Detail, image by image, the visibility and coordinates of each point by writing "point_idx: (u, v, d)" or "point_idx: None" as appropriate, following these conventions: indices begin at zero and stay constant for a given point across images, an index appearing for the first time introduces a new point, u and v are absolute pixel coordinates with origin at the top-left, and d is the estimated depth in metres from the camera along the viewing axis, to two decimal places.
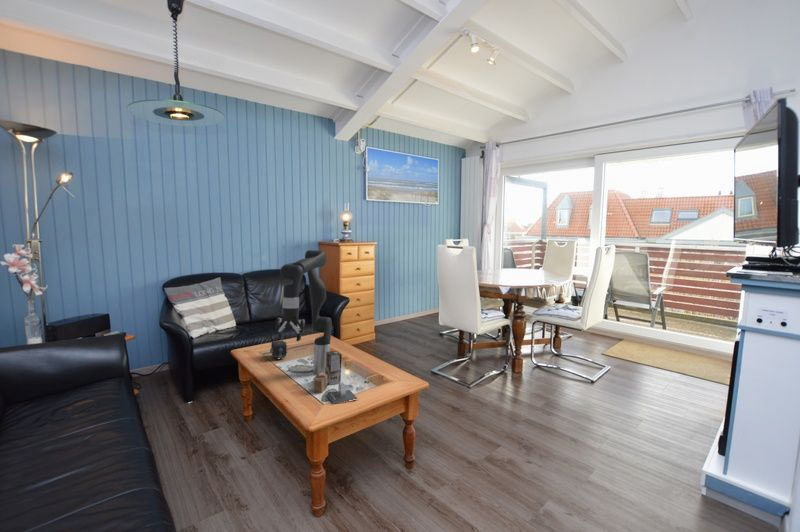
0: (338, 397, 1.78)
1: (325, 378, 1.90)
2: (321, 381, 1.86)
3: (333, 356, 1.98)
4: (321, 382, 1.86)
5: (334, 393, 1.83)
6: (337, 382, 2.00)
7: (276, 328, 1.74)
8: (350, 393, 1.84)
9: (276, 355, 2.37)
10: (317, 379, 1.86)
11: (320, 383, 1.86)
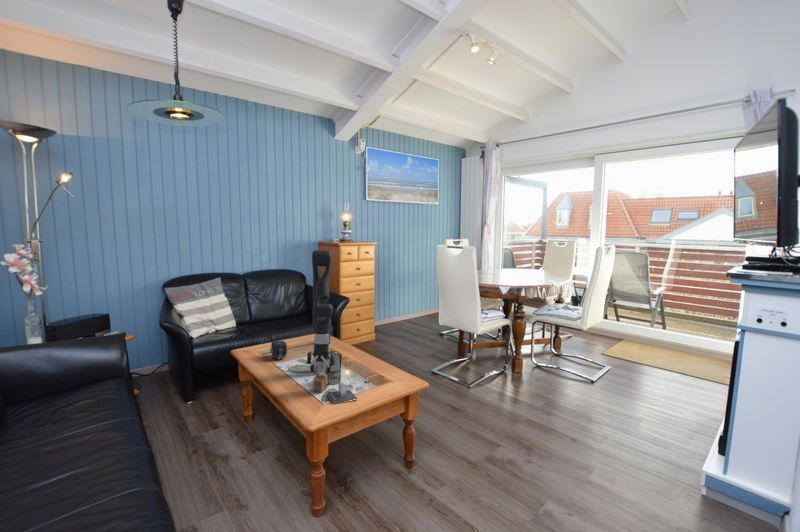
0: (338, 397, 1.78)
1: (325, 378, 1.90)
2: (321, 381, 1.86)
3: None
4: (321, 382, 1.86)
5: (334, 393, 1.83)
6: (337, 382, 2.00)
7: (308, 362, 1.89)
8: (350, 393, 1.84)
9: (276, 355, 2.37)
10: (317, 379, 1.86)
11: (320, 383, 1.86)
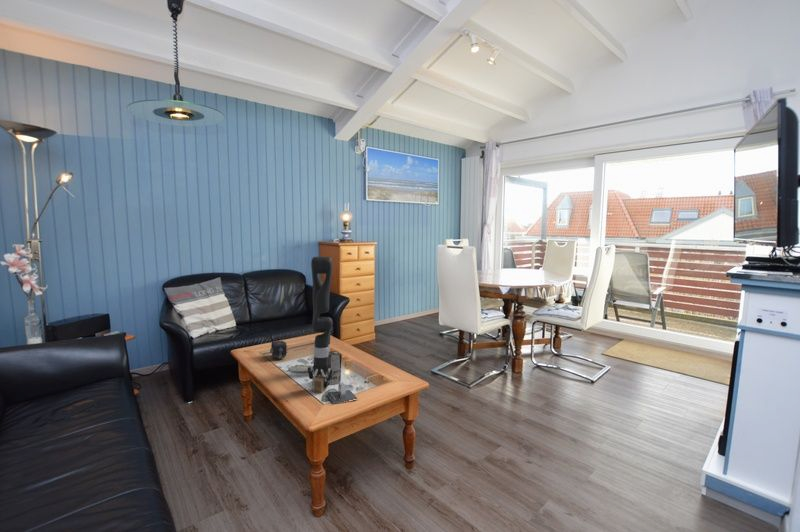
0: (338, 397, 1.78)
1: None
2: (321, 381, 1.86)
3: (333, 356, 1.98)
4: (321, 382, 1.86)
5: (334, 393, 1.83)
6: (337, 382, 2.00)
7: (310, 377, 1.89)
8: (350, 393, 1.84)
9: (276, 355, 2.37)
10: (317, 379, 1.86)
11: (320, 383, 1.86)
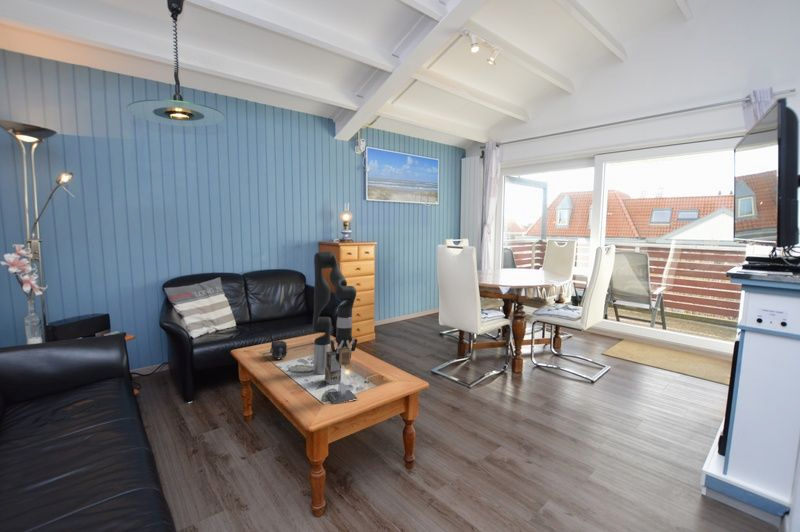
0: (338, 397, 1.78)
1: None
2: (349, 352, 1.78)
3: (333, 356, 1.98)
4: (349, 353, 1.78)
5: (334, 393, 1.83)
6: (337, 382, 2.00)
7: (334, 350, 1.77)
8: (350, 393, 1.84)
9: (276, 355, 2.37)
10: (345, 351, 1.77)
11: (348, 354, 1.78)
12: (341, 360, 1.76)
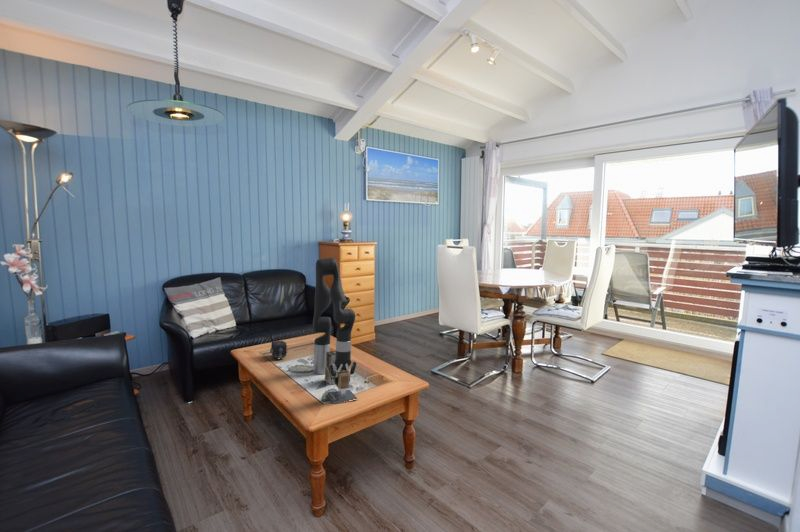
0: (338, 397, 1.78)
1: None
2: (348, 376, 1.78)
3: (333, 356, 1.98)
4: (348, 377, 1.78)
5: (334, 393, 1.83)
6: None
7: (333, 374, 1.77)
8: (350, 393, 1.84)
9: (276, 355, 2.37)
10: (344, 374, 1.77)
11: (347, 378, 1.78)
12: (340, 384, 1.76)
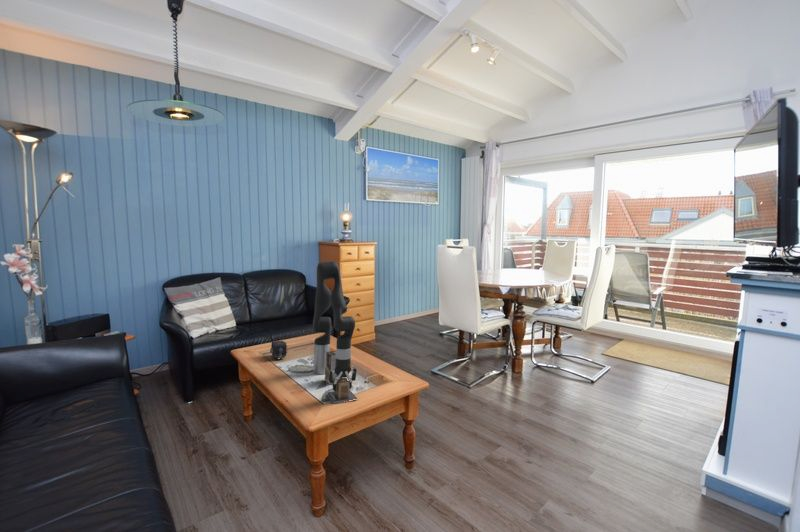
0: None
1: None
2: (348, 385, 1.78)
3: (333, 356, 1.98)
4: (348, 386, 1.78)
5: (334, 393, 1.83)
6: None
7: (331, 381, 1.77)
8: (350, 393, 1.84)
9: (276, 355, 2.37)
10: (344, 384, 1.77)
11: (347, 387, 1.78)
12: (340, 393, 1.77)
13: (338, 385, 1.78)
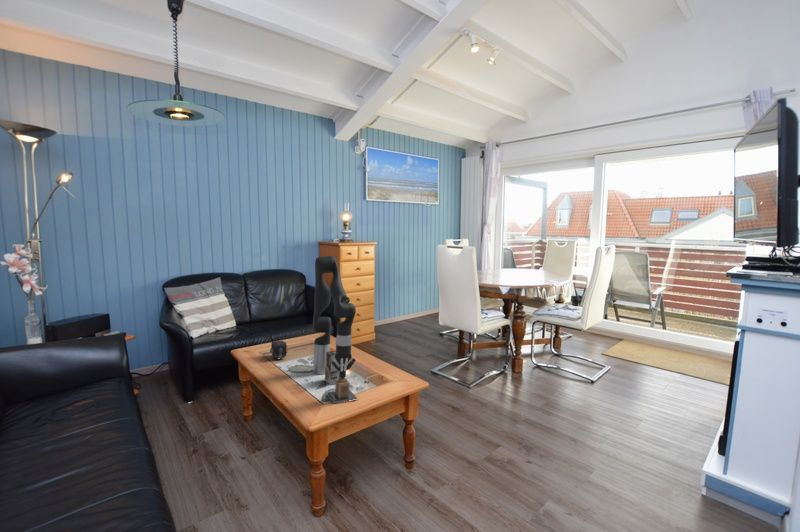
0: None
1: None
2: (348, 385, 1.78)
3: (333, 356, 1.98)
4: (348, 386, 1.78)
5: (334, 393, 1.83)
6: None
7: (338, 368, 1.78)
8: (350, 393, 1.84)
9: (276, 355, 2.37)
10: (344, 384, 1.77)
11: (347, 387, 1.78)
12: (340, 393, 1.77)
13: (338, 385, 1.78)
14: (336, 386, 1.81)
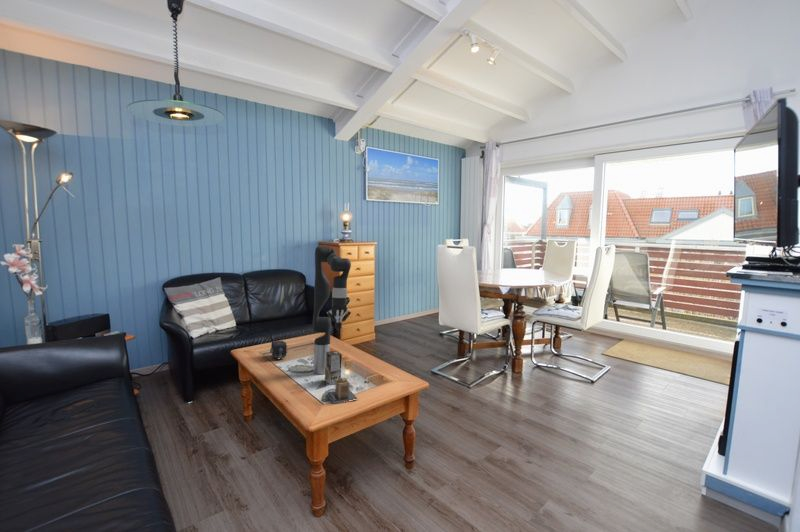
0: None
1: None
2: (348, 385, 1.78)
3: (333, 356, 1.98)
4: (348, 386, 1.78)
5: (334, 393, 1.83)
6: None
7: (334, 319, 1.87)
8: (350, 393, 1.84)
9: (276, 355, 2.37)
10: (344, 384, 1.77)
11: (347, 387, 1.78)
12: (340, 393, 1.77)
13: (338, 385, 1.78)
14: (336, 386, 1.81)
